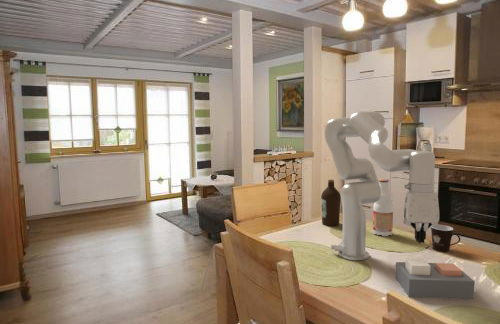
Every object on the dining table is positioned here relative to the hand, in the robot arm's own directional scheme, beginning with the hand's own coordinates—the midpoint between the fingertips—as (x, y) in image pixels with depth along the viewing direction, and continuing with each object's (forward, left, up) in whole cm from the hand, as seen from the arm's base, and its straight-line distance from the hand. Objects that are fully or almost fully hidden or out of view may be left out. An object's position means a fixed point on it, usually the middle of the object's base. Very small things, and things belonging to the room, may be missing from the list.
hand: (420, 241), depth 117 cm
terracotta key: (+10, +1, -13) cm, 16 cm away
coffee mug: (+24, +36, -17) cm, 47 cm away
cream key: (0, 0, -12) cm, 12 cm away
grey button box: (+5, 0, -17) cm, 17 cm away
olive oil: (-20, +74, -17) cm, 79 cm away
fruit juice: (+4, +58, -17) cm, 61 cm away
